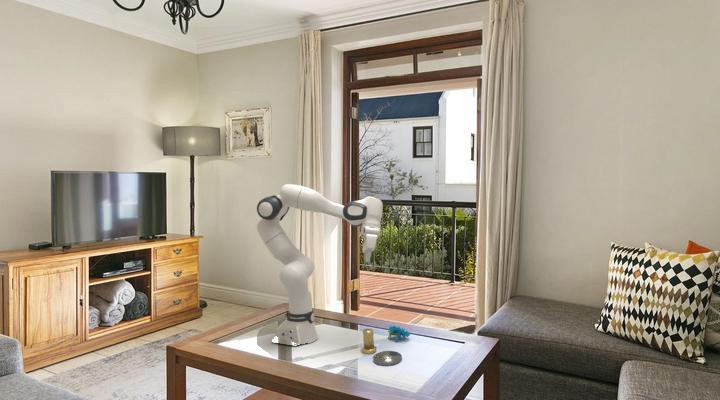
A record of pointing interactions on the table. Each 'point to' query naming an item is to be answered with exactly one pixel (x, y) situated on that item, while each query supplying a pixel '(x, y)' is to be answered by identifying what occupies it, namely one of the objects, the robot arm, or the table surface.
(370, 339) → the gold flanged cylinder
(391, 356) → the dark grey flat disc
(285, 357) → the table surface
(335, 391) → the table surface
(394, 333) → the teal coral
